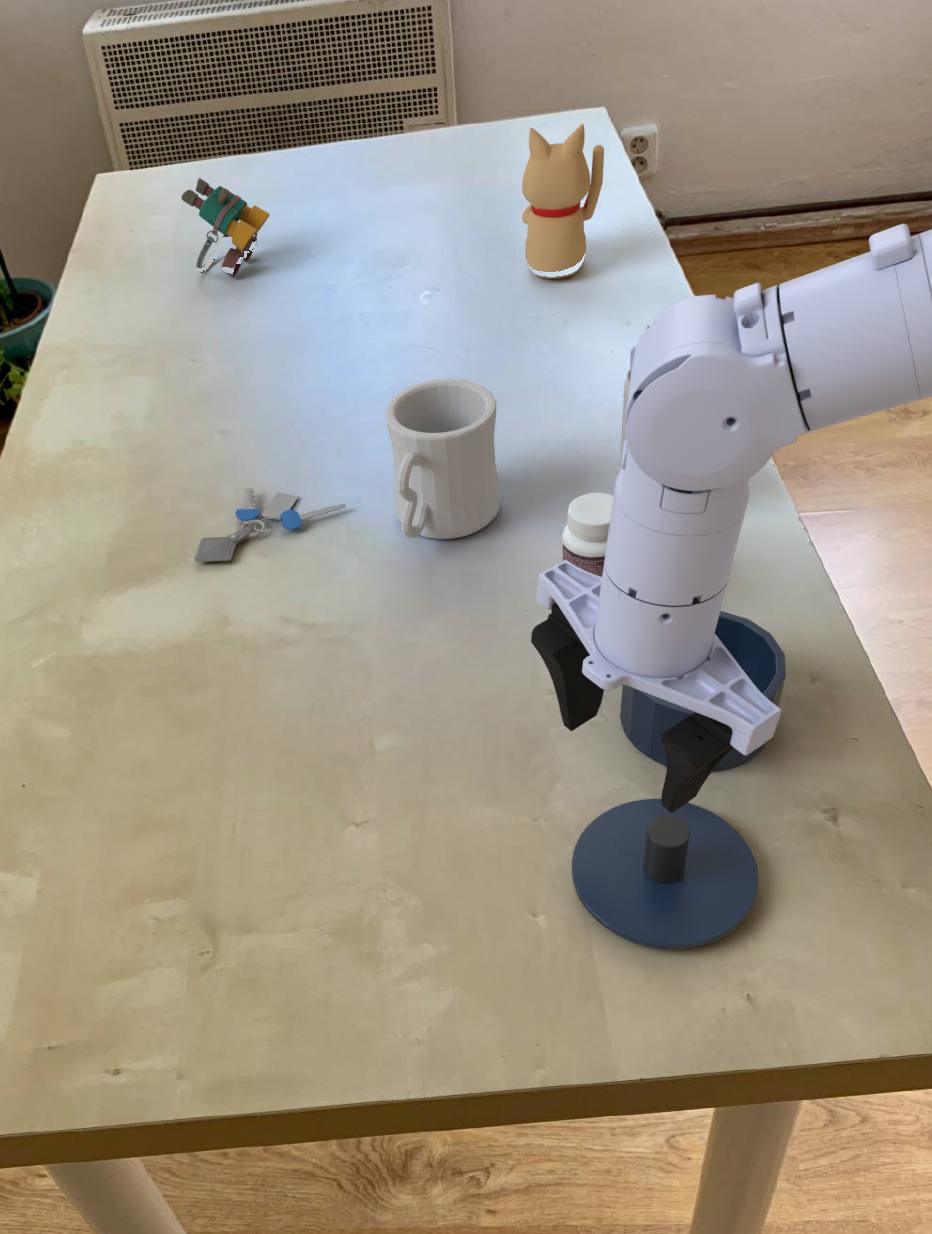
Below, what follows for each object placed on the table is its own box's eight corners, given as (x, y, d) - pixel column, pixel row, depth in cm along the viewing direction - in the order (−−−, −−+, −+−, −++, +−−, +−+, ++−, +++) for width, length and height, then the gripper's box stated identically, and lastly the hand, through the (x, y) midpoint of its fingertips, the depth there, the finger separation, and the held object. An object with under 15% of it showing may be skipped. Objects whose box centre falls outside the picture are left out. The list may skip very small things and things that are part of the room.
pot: (805, 724, 73) (820, 665, 69) (693, 796, 70) (703, 739, 66) (696, 647, 79) (704, 589, 75) (590, 710, 76) (592, 653, 72)
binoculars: (222, 303, 131) (249, 232, 124) (155, 260, 130) (178, 186, 122) (251, 268, 137) (279, 199, 129) (187, 227, 136) (211, 154, 128)
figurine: (599, 245, 125) (605, 101, 114) (599, 284, 119) (605, 135, 108) (524, 249, 127) (523, 107, 116) (520, 288, 120) (518, 141, 109)
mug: (423, 473, 98) (414, 370, 91) (517, 491, 95) (515, 385, 87) (359, 554, 91) (343, 449, 84) (458, 576, 88) (451, 470, 80)
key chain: (205, 575, 92) (202, 567, 91) (166, 529, 97) (164, 521, 96) (348, 511, 95) (346, 503, 95) (304, 470, 100) (302, 462, 100)
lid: (795, 891, 64) (809, 842, 61) (657, 988, 61) (664, 943, 58) (665, 783, 71) (672, 733, 68) (535, 865, 68) (535, 818, 64)
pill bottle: (628, 616, 82) (635, 525, 76) (564, 621, 83) (566, 530, 77) (619, 577, 85) (625, 485, 79) (558, 581, 86) (559, 491, 80)
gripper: (498, 528, 54) (488, 718, 64) (728, 690, 45) (675, 879, 56) (602, 474, 56) (576, 665, 66) (837, 619, 48) (767, 811, 58)
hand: (627, 759), depth 61 cm, fingers open, 7 cm apart
